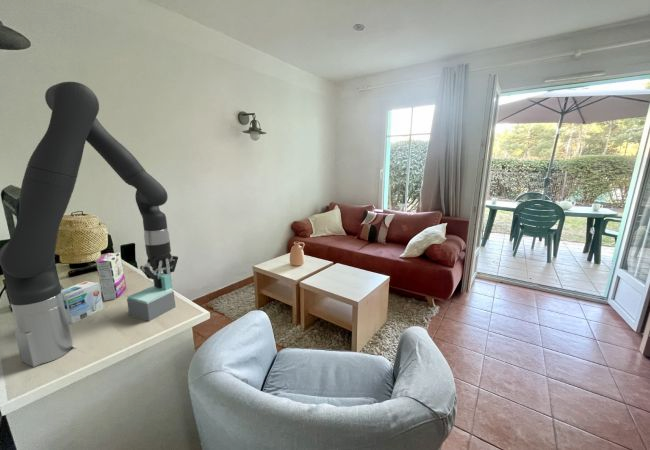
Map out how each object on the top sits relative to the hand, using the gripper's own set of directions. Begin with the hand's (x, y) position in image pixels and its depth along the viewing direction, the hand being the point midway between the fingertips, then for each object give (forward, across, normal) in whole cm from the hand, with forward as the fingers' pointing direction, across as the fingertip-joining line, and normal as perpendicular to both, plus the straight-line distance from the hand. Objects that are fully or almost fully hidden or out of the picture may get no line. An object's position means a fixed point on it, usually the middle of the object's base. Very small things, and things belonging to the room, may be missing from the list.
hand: (163, 286), depth 97 cm
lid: (+2, -5, 0) cm, 5 cm away
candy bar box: (+9, 0, +28) cm, 30 cm away
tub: (+8, -5, 0) cm, 10 cm away
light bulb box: (+9, -15, +22) cm, 28 cm away
